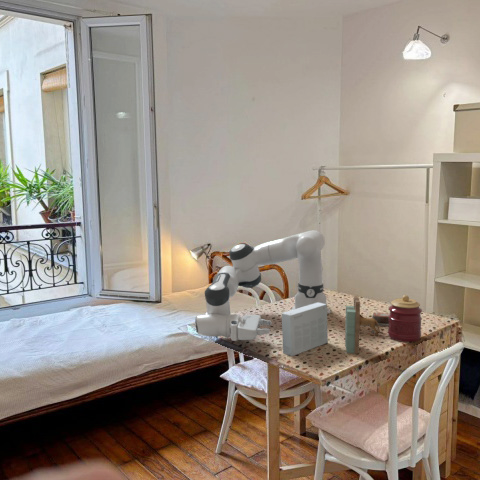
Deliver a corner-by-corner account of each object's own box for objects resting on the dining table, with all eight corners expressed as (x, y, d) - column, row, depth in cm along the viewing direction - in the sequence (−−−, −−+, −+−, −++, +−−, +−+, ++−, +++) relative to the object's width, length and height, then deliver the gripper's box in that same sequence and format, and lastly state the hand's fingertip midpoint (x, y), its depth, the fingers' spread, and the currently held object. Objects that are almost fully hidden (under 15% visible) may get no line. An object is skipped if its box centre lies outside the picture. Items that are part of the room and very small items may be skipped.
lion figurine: (346, 333, 213) (346, 312, 212) (348, 329, 218) (349, 308, 216) (382, 337, 207) (383, 315, 206) (383, 332, 212) (384, 312, 211)
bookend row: (345, 344, 199) (345, 295, 196) (356, 345, 199) (357, 295, 196) (346, 353, 190) (347, 301, 187) (358, 353, 190) (360, 302, 187)
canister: (390, 342, 202) (391, 299, 199) (385, 331, 214) (386, 290, 212) (424, 343, 200) (425, 299, 197) (417, 332, 212) (419, 291, 210)
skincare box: (317, 339, 206) (318, 301, 203) (328, 343, 202) (328, 304, 199) (281, 352, 192) (281, 312, 190) (291, 356, 188) (291, 315, 186)
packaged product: (371, 316, 221) (372, 310, 230) (371, 327, 222) (372, 320, 231) (415, 319, 216) (414, 312, 225) (415, 330, 217) (413, 323, 226)
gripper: (239, 325, 210) (272, 326, 208) (231, 342, 190) (268, 343, 188) (238, 310, 209) (272, 311, 207) (231, 326, 189) (268, 327, 187)
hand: (270, 327), depth 197 cm, fingers open, 8 cm apart
